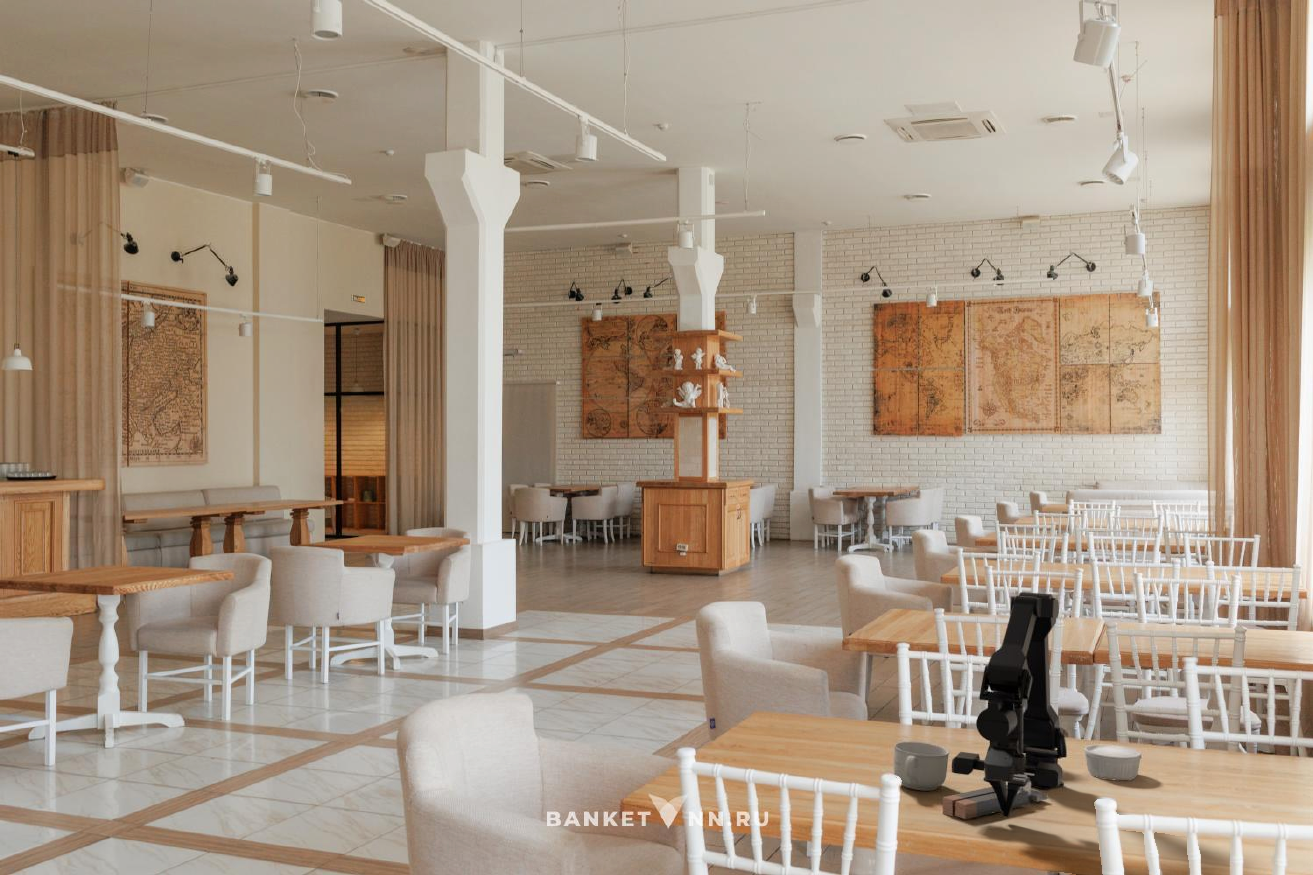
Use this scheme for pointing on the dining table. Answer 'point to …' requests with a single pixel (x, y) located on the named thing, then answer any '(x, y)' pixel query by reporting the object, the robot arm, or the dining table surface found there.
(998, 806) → the tongs arm
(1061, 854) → the dining table surface
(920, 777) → the teacup
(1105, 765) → the ramekin
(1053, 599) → the robot arm
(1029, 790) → the base
